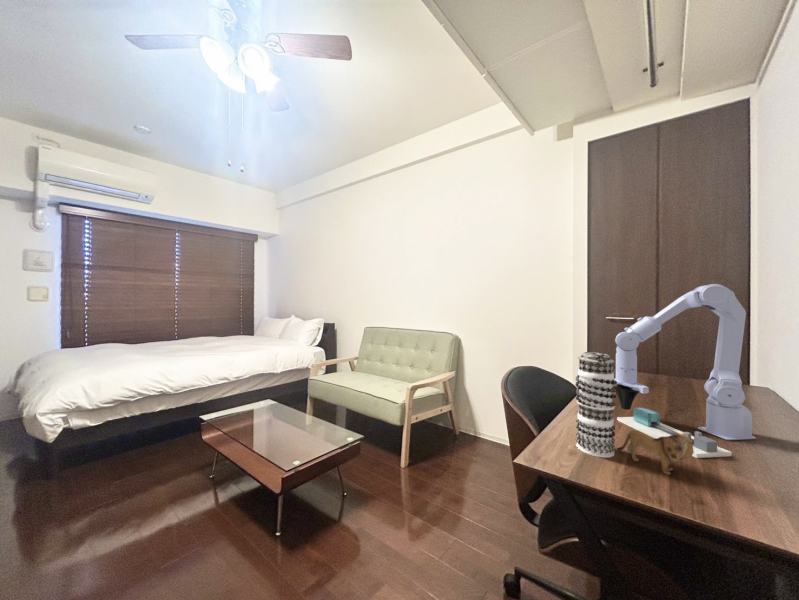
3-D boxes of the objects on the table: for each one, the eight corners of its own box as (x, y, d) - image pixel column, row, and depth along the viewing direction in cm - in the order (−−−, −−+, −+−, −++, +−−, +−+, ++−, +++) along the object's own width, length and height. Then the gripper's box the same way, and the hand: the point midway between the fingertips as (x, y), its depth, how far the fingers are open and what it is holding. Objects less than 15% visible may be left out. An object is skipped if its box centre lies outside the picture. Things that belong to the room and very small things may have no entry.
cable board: (644, 419, 101) (644, 407, 101) (731, 456, 77) (731, 440, 77) (617, 420, 100) (617, 408, 100) (696, 458, 76) (696, 441, 76)
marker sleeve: (644, 419, 98) (645, 407, 98) (659, 425, 93) (660, 413, 93) (633, 419, 97) (633, 407, 97) (648, 426, 92) (648, 413, 92)
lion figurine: (697, 475, 68) (697, 435, 68) (689, 483, 65) (689, 441, 65) (620, 448, 80) (621, 414, 80) (611, 454, 78) (611, 418, 78)
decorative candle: (621, 450, 79) (622, 354, 79) (609, 462, 73) (610, 358, 73) (582, 438, 86) (583, 349, 86) (569, 448, 80) (569, 352, 80)
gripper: (598, 363, 109) (598, 402, 109) (634, 373, 95) (634, 417, 95) (616, 363, 110) (616, 401, 110) (654, 373, 96) (654, 416, 95)
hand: (625, 408), depth 102 cm, fingers closed
